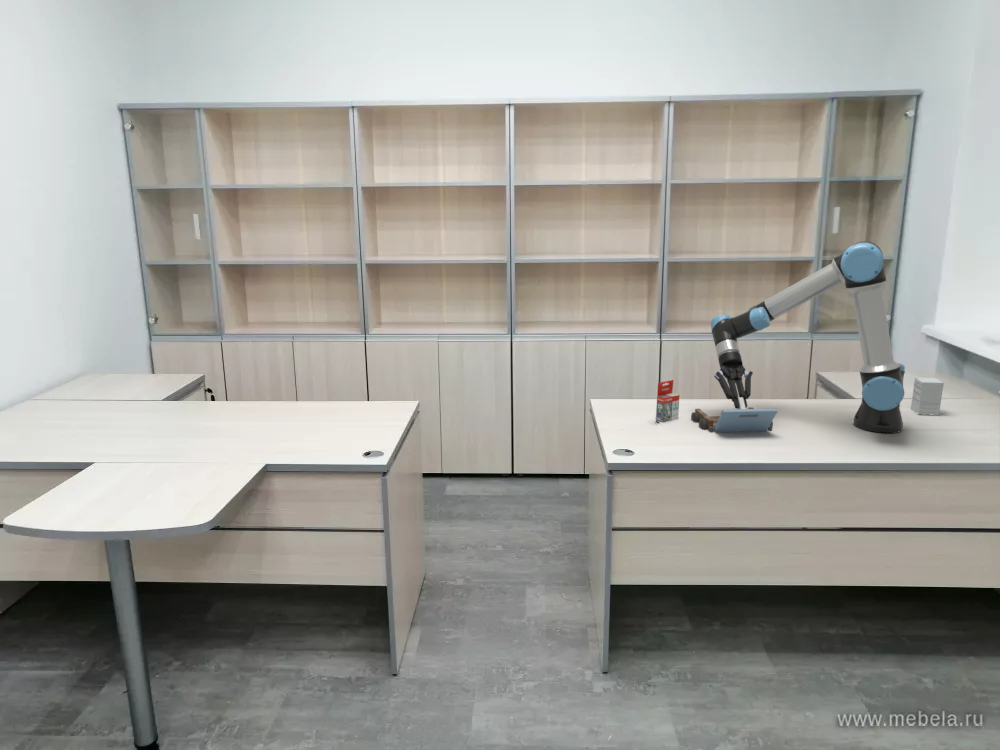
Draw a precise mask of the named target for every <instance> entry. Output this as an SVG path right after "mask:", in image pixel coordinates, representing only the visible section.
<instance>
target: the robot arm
mask: <svg viewBox="0 0 1000 750" xmlns="http://www.w3.org/2000/svg"><path fill="white" fill-rule="evenodd" d="M884 264H885V263H884V255H883V251H882V249H881V248H880V246H879V245H877V244H875V243H874V242H870V241H866V240H865V241H860V242H856V243H854V244H852V245H851V246H849V247H848V248H847V249H846V250H845V251H843V252H842V253H840V254H839V255H837V256H836V257H834V258H833V259H832V260H831V263H829V264H828V265H826V266H824V267H822V268H820V269H818V270H817V271H816V272H814V273H811V274H810V275H808V276H806V277H805V278H803V279H801V280H799V281H797V282H795V283H794V284H792V285H790V286H788V287H786V288H784V289H783V290H780V291H779V292H778V293H776V294H774V295H772V296H770V297H769V298H767V299H765V300H763V301H762V302H760V303H758V304H756V305H753V306H751V307H749V309H748V310H747V311H745V312H744V313H741V314H739V315H736V316H734V317H731V316H730V315H728V314H719V315H717V316H714V317H713V318H712V320H711V321H710V328H711V334H712V338H713V341H714V342H713V343H714V345H715V346H714V347H715V350H716V355H717V360H718V364H719V368H720V369H719V371H716V373H715V374H714V378H715V379H716V381H718V383H719V385H720V388H721V390H722V392H723V393H724V395H725V397H726V399H728V400H731V402H733V407H734V408H735V409H748V402H747V400H748V399H749V398H750V396H751V393H752V392H751V390H752V389H751V388H752V386H751V385H752V384H751V383H752V382H751V381H752V375H753V374H754V373H753V371H751V370H750V371H748V370H746V368H745V367H744V365H743V359H742V355H741V351H740V348H739V347H740V346H739V343H738V339H740V338H743V337H745V336H748V335H751V334H753V333H756V332H759V331H763V330H764V329H766V328H769V326H771V321H773V320H775V319H778V318H779V317H780V316H783V315H784V314H787V313H788V312H790V311H792V310H794V309H796V308H797V307H801V306H802V305H804V304H806V303H807V302H809V301H811V300H813V299H815V298H817V297H819V296H821V295H822V294H824V293H826V292H828V291H830V290H831V289H834V288H836V287H837V286H839V285H841V284H843V283H844V285H845V289H846V290H847V291H849V292H850V293H851V295H852V300H853V306H854V307H853V308H854V313H855V320H856V324H857V330H858V331H857V332H858V337H859V343H860V348H861V354H862V361H863V365H862V366H861V368H860V369H859V374H860V380H861V386H862V387H861V390H862V391H861V396H862V397H861V403H860V406H859V408H858V409H857V411H856V413H855V415H854V417H853V426H854V427H856V428H858V429H861V430H864V431H869V432H872V431H873V433H879V432H884V433H883V434H891V433H890V432H897V433H899V432H898V431H900V432H902V431H903V428H904V427H903V426H904V423H903V418H902V413H901V409H900V405H901V402H902V401H903V399H904V397H905V388H904V377H905V373H906V371H905V368H906V367H905V364H903V363H900V362H896V361H895V360H894V355H893V348H892V343H891V337H890V331H889V325H888V319H887V312H886V305H885V300H884V293H883V286H885V284H886V283H887V278H886V277H887V276H886V271H885V265H884ZM743 375H744V376H743ZM743 377H744V383H743ZM726 380H727V381H726ZM901 430H902V431H901ZM885 432H887V433H885ZM888 432H889V433H888Z"/></svg>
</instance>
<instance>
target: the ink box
mask: <svg viewBox="0 0 1000 750" xmlns="http://www.w3.org/2000/svg"><path fill="white" fill-rule="evenodd" d="M665 384H666V385H665ZM673 387H674V379H672V380H665V381H660V382H658V383H657V392H656V393H657V394H656V395H657V396H656V412H655V423H656V422H657V424H661V423H666V422H671V421H675V420H678V419H679V414H680V413H679V412H680V410H679V409H680V394H677V393H674V392H673Z"/></svg>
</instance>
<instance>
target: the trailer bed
mask: <svg viewBox="0 0 1000 750" xmlns="http://www.w3.org/2000/svg"><path fill="white" fill-rule="evenodd" d="M748 409H755V408H754V407H748ZM690 415H691V416H690V420H691V421H692V422H693V423H698V427H699V428H700V429H701V430H707V431H708V432H709V433H714V428H715V426H716V424H717V422H718V420H719V417H720V415H719V416H716V415H715V416H714V415H713V416H709V415H708V414H706V413H705V411H704V410H702V409H700V408H695V410H694V412H691V414H690ZM773 421H774V420H772V422H771V424H770V426H769V428H768V429H767V431H768V432H772V431H773V426H774V423H773Z"/></svg>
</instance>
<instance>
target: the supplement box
mask: <svg viewBox="0 0 1000 750" xmlns="http://www.w3.org/2000/svg"><path fill="white" fill-rule="evenodd" d="M944 384H945V383H944V382H943V381H941V380H940V379H938V378H936V377H914V382H913V391H912V398H911V405H910V410H911V409H912V410H914V411H915V412H917V413H918V414H933V415H932V416H936V415H939V416H940V411H941V409H940V408H941V404H942V397H943V396H942V395H943V391H944ZM912 410H911V411H912ZM915 412H914V413H915ZM918 414H917V415H918Z"/></svg>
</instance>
